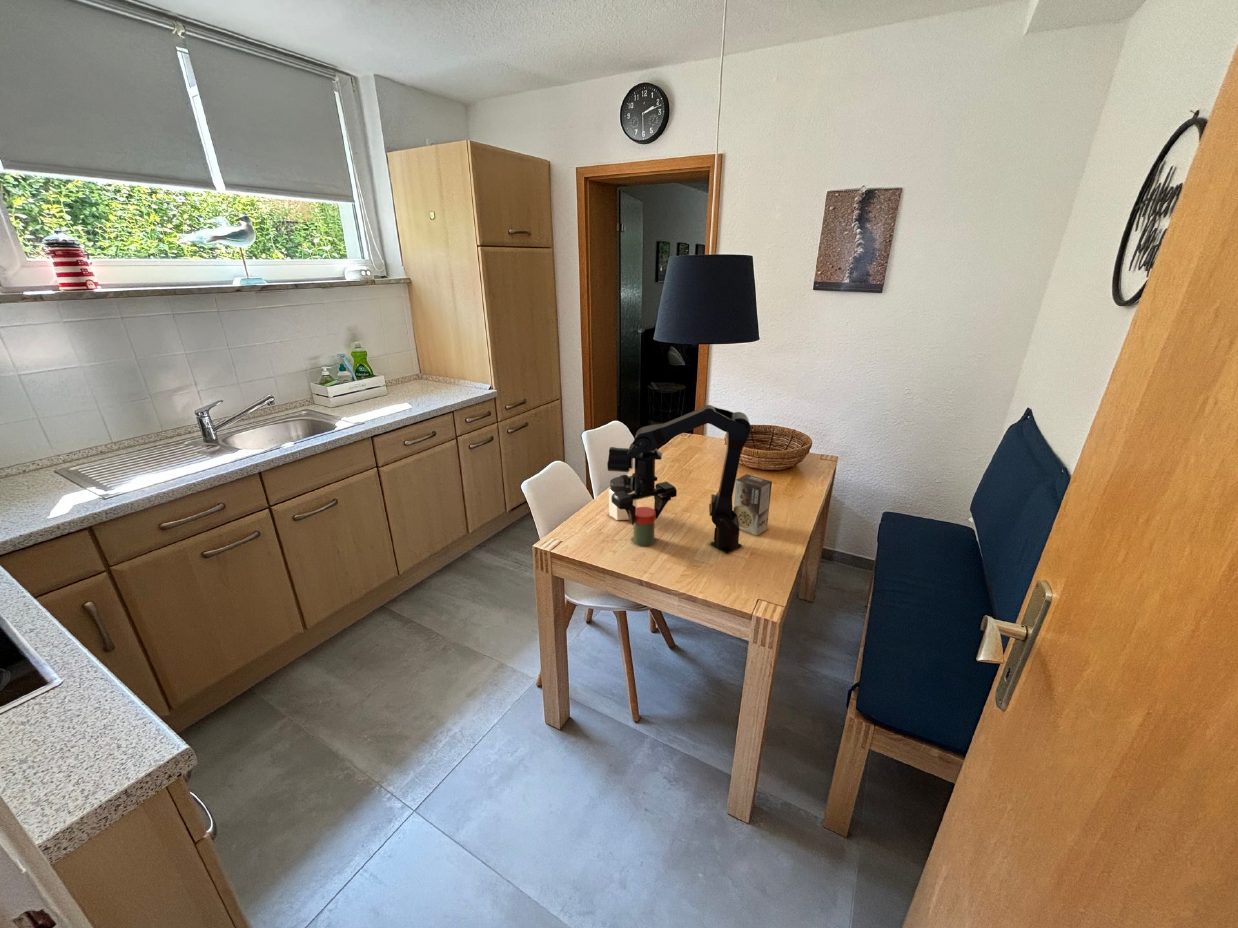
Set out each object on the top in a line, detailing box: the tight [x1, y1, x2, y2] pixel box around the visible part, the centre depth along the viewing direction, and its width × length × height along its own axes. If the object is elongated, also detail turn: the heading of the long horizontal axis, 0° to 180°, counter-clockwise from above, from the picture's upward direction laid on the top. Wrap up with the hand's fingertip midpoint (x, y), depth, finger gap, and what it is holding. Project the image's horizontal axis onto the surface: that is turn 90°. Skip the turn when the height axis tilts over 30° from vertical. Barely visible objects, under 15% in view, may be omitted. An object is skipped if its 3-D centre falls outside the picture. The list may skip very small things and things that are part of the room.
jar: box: [608, 476, 637, 521], centre depth 162 cm, size 9×8×12 cm
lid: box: [635, 506, 657, 525], centre depth 145 cm, size 7×7×2 cm
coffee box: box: [733, 473, 773, 536], centre depth 152 cm, size 9×6×16 cm
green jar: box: [633, 521, 656, 547], centre depth 147 cm, size 6×6×9 cm
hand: (644, 521), depth 146 cm, fingers open, 8 cm apart
